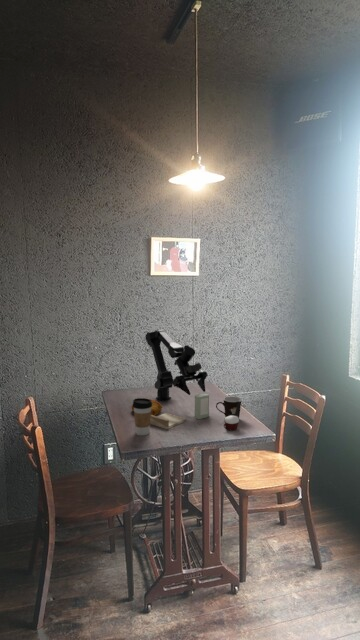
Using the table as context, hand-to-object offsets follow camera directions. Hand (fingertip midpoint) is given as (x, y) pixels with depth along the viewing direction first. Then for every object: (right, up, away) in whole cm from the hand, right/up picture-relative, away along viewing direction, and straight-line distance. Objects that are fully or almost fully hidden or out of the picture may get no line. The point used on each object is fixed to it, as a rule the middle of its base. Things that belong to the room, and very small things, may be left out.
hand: (197, 393), depth 208 cm
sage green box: (+2, -11, -2) cm, 12 cm away
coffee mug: (+15, -12, -5) cm, 20 cm away
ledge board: (-15, -12, -8) cm, 21 cm away
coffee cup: (-25, -14, -22) cm, 36 cm away
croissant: (-25, -11, +5) cm, 28 cm away
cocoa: (+15, -13, -17) cm, 27 cm away
